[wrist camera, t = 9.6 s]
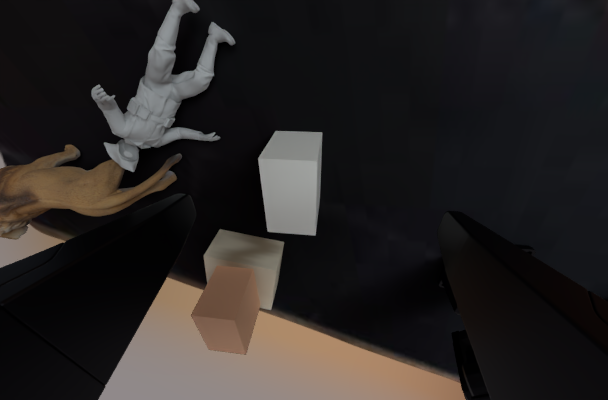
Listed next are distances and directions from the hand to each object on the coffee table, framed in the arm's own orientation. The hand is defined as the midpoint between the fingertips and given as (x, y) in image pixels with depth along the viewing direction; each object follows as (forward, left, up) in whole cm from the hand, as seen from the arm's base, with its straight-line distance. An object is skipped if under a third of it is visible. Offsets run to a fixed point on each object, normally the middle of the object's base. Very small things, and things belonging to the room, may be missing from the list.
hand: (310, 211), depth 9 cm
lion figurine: (+20, +5, -11) cm, 23 cm away
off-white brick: (+2, +4, -11) cm, 12 cm away
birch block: (+8, +16, -11) cm, 21 cm away
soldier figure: (+11, -2, -11) cm, 16 cm away
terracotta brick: (+8, +16, -7) cm, 19 cm away
